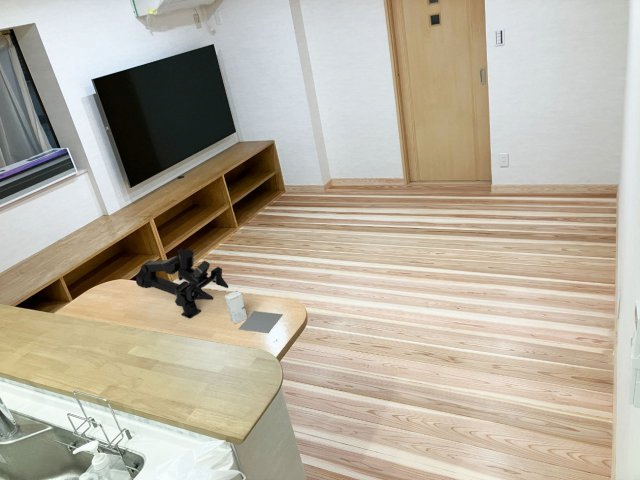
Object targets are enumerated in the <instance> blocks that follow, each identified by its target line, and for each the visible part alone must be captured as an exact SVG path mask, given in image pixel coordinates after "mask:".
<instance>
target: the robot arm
mask: <svg viewBox="0 0 640 480" xmlns="http://www.w3.org/2000/svg"><path fill="white" fill-rule="evenodd" d="M177 255H178V256H177ZM177 255H176V256H173V257H171V258H169V259H165V260H164V259H163V260H148V261H146V262H145V263H143V264H142V265H141V266H140V270H139V271H138V272H137V274H136V279H135V283H136V285H137V286H138V287H140V288H142V289H149V288H155V289H157V290H160V291H163V292H166V293H169V294H171V295H174V296H175V297H176V299H175V300H174V302H175V305H176V306H178V307H182V311H183V312H182V313H181V314H180V315H181V316H182V317H185V318H188V319H192V318H193V317H195V316H196V315H198V314H199V313H201V312H202V310H201V309H199V308H198V307H197V303H196V301H197V300H198V301H199V300H200V301H201V300H206V301H207V300H208V301H210V300H211V301H213V300H214V297H213V296H212V295H210V293H208V292H206V291H204V290H203V288H205V287H206V286H207V285H209V284H210V283H211V282H212V283H213V284H215V285H217V286H219V287H223V288H226V289H229V284H228V283H227V282H226V281H225V279H224V278H223V268H222V267H219V266H216V267H215V268H213V269H212V270H211V271H210V276H209V273H208V270H209V269H210V266H211V263H209V262H208V261H207V260H203V261H202V262H201V263H200V264H199V265H197V266H196V267H195V268H194V264H195V261H194V259H195V253H194V251H193V250H191V249H182V248H181V249H179V250H177ZM157 272H165V274H167V275H175V274H176V273H177V272H178V273H177V276H178V280H179V281H182V280H185V281H183V282H181V283H177V282H173V281H170V280H168V279H165V278H162V277H159V276H158V275H157Z"/></svg>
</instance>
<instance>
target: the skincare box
mask: <svg viewBox="0 0 640 480" xmlns="http://www.w3.org/2000/svg"><path fill="white" fill-rule="evenodd" d="M224 298H225V302H226V303H225V304H226V307H227V310H228V314H229V317H230V321H231V322H232V323H234V325H235V324H238V323H241V322H243V321H246V319H247V318H248V315H247V311H246V307H245V303H244V298H243V295H242V292H241V291H239V290H235V291H232V292H229V293H228V294H225V295H224Z"/></svg>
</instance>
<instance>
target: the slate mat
mask: <svg viewBox="0 0 640 480" xmlns="http://www.w3.org/2000/svg"><path fill="white" fill-rule="evenodd" d="M281 317H283V314H282V313H275V312H274V313H273V312H268V311H267V312H265V311H257V310H253V312H251V314H249V316H247V319H245V320H244V322H243V323H242V324H241V325H240V327H238V328H237V329H238V330H241V331H242V330H243V331H248V332H257V333H264V334H269V333H270V332H271V330H272V329H273V328H274V326H275V325H276V324H277V322H278V321H280V319H281Z"/></svg>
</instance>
